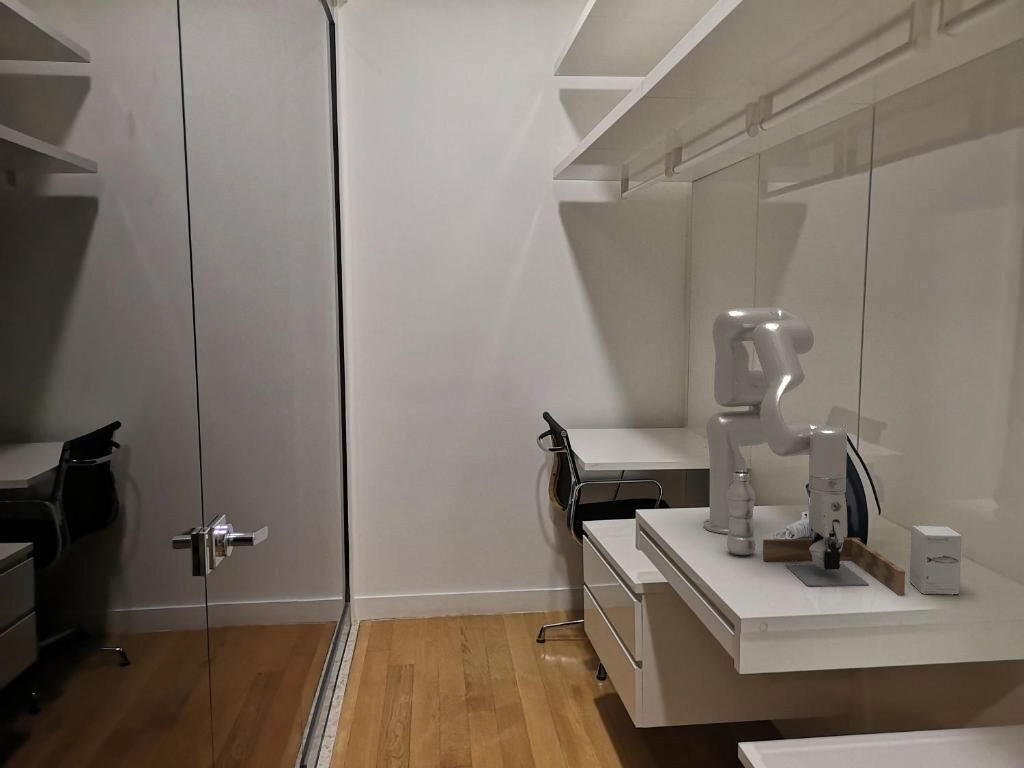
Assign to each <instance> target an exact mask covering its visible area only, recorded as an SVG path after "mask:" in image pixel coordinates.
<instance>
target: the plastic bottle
mask: <svg viewBox="0 0 1024 768" xmlns="http://www.w3.org/2000/svg"><path fill="white" fill-rule="evenodd" d="M733 480H734V482H733V484H732V485H731V486H730V487H729V489H728V491H727V501H728V508H729V531H728V534H727V536H726V548H727V550H728V552H729V553H731V554H732V555H737V556H750V555H752V554H753V553H754V552H755V550H756V549H755V548H756V539H755V535H754V533H755V531H754V524H753V523H754V521H753V520H754V518H753V517H754V508H755V502H756V493H755V490H754V488H753V487H752V486H751V484H750V483H749V482H750V480H751V478H750V472H749V471H747V472H745V471H735V472H733Z"/></svg>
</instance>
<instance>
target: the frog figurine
mask: <svg viewBox="0 0 1024 768" xmlns="http://www.w3.org/2000/svg"><path fill="white" fill-rule="evenodd" d="M829 541H830V545H831V543H832V542H834V540H829ZM842 547H843V545H842V546H841V551H842ZM809 550H810V552H811V555H812V560H813V561H812V562H813V563H814V564H815V565H816V566H817V567H819V568H822V569H825V568H824V551H826V545H825V538H823V540H820V541H818V542H816V543H814V544H813V545H811V546H810V548H809Z"/></svg>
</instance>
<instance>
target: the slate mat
mask: <svg viewBox="0 0 1024 768" xmlns="http://www.w3.org/2000/svg"><path fill="white" fill-rule="evenodd" d="M785 568H787V569H788V571H790V572H791V573H792V574H793V575H794V576H795V577H796V578H798V580H799V581H801V583H803V584H804V585H805V586H806V587H807V588H810V587H812V588H814V587H815V588H817V587H818V588H819V587H826V588H827V587H861V586H863V587H866V586H869V585H870V583H869V582H868V581H866V580H865V579H863V578H862V577H861V576H859V575H858V574H857V573H855V572H854V571H853V570H852V569H850V568H849V567H847V566H846V565H845V564H844V563H840V568H839V569H831V570H826V569H822V568H819V567H817V566H816V565H815V564H813V563H812V564H810V563H809V564H785Z"/></svg>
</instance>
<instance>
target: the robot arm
mask: <svg viewBox="0 0 1024 768" xmlns="http://www.w3.org/2000/svg"><path fill="white" fill-rule="evenodd" d="M711 333H712V340H713V345H714V352H715V362H714V380H713V396H714V401H715V402H716V403H717V405H719V406H721V407H724V408H725V407H726V408H739V407H748V410H746V409H745V410H731V411H730V410H729V411H720V412H717V413H714V414H712V415H710V416H709V418H708V419H707V421H706V425H705V433H706V438H707V443H708V452H709V518H708V519H706V520H705V521H704V522H703V528H705V529H706V530H707V531H709V532H712V533H717V534H722V535H723V534H724V535H728V531H729V508H728V501H727V491H728V489H729V487H730V486H731V485H732V484H733V482H734V480H733V472H735V471H745V472H748V471H747V469H748V468H747V462H746V459H745V456H744V455H743V454H742V453H741V450H739V448H740V447H750V446H760V445H764V444H766V443H767V445H768V447H769V449H770V450H771V451H772V453H773V454H775V455H776V456H780V457H796V456H809V457H808V460H809V461H808V490H809V491H810V493H809V494H810V495H809V504H808V505H809V508H808V524H809V527H810V528H811V529H810V531H811V537H810V539H812V545H813V544H814V543H816V542H818V541H820V540H823V538H825V545H826V551H824V568H825V569H826V570H831V569H839V568H840V564H841V560H840V552H841V546H842V544H843V542H844V539H843V538H848V511H847V510H848V509H847V501H846V495H845V493H846V490H847V488H846V487H847V456H848V454H847V453H848V452H847V450H848V435H847V432H846V431H845V430H844V429H843V428H841V427H837V426H830V425H828V424H826V423H824V422H821V421H816V420H813V421H812V420H811V421H794V422H785V421H784V417H783V415H782V411H781V404H780V403H781V399H782V396H783V395H784V394H787V393H789V392H791V391H792V390H794V389H796V388H798V387H799V386H801V384H802V383H803V382H804V380H805V373H804V369H803V368H802V364H801V362H800V359H799V357H798V355H805V354H807V353H809V352H810V351H811V350H812V349H813V346H814V344H815V337H814V332H813V330H812V328H811V326H810V325H809V324H808V323H807V322H806V321H805V320H803V319H802V318H800V317H798V316H796V315H794V314H792V313H791V312H788V311H786V310H784V309H782V308H779V307H773V306H772V307H735V308H729V309H725V310H723V311H720V312H719V313H718V314H717V315H716V317H715V319H714V321H713V325H712V332H711ZM743 342H752V343H753V345H754V348H755V351H756V355H757V357H758V360H759V363H760V367H761V369H750V370H749V368H750V367H749V362H750V355H749V351H748V349H747V347H746V345H745V344H744V343H743ZM830 535H833V536H830ZM829 540H834V542H832V543H831V545H830V541H829Z"/></svg>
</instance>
